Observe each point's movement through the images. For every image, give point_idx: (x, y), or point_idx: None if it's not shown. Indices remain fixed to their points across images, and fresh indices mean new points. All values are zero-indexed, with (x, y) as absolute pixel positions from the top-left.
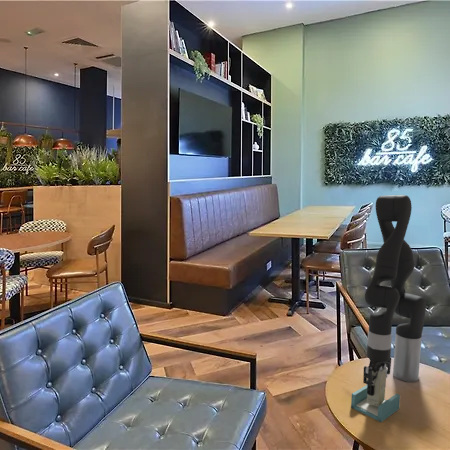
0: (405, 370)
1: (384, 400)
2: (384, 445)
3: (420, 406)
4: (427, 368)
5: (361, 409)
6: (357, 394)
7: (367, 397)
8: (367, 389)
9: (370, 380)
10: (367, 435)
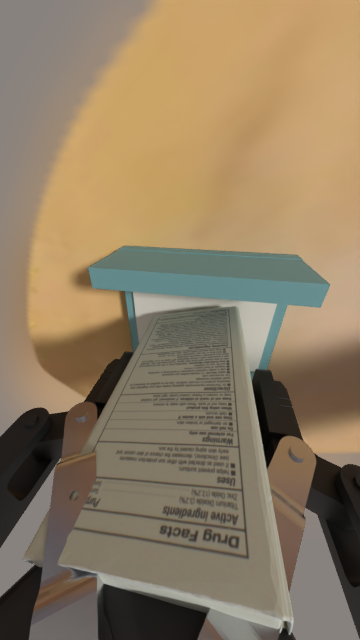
0: None
1: (261, 340)
2: (68, 386)
3: (327, 411)
4: None
5: (128, 298)
6: (121, 288)
7: (145, 333)
8: (101, 377)
9: (17, 485)
10: (57, 352)
